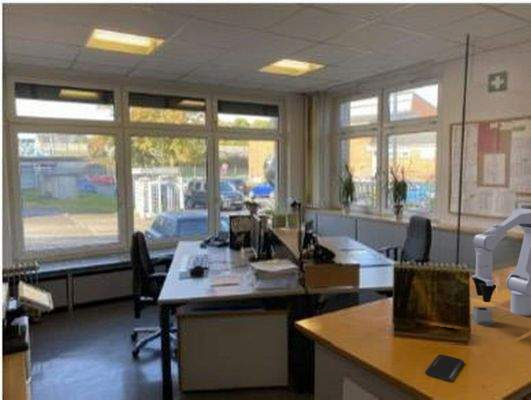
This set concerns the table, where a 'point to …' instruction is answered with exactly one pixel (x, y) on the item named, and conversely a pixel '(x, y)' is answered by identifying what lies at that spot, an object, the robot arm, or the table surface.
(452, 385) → the table surface
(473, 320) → the hub plate
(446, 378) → the phone
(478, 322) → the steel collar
